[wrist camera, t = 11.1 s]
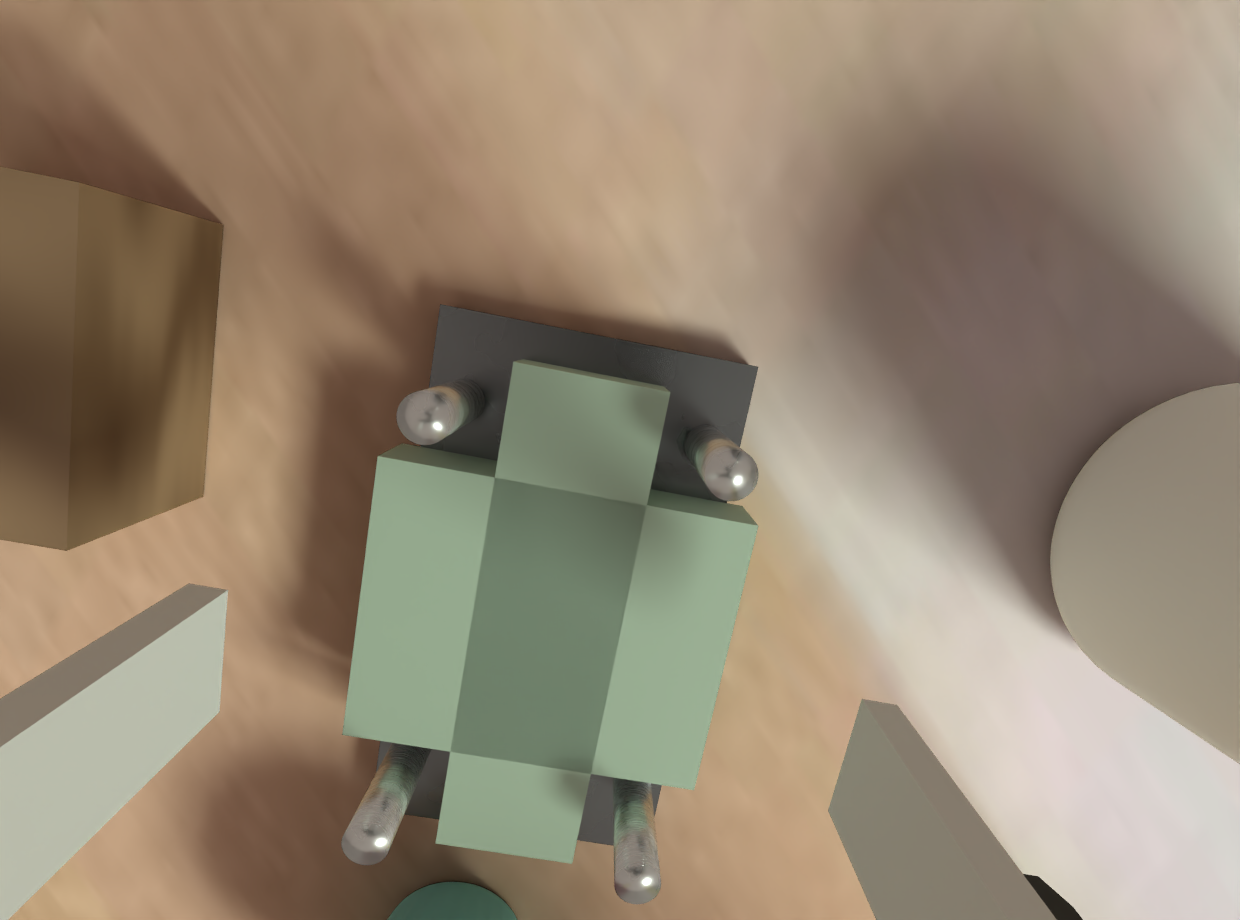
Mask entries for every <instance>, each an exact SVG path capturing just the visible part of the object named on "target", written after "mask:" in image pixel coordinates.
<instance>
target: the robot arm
mask: <svg viewBox="0 0 1240 920" xmlns="http://www.w3.org/2000/svg"><path fill="white" fill-rule="evenodd" d="M227 597H228V590H225V589H219V588H213V587H207V586H201V585H195V584H190V583H189V584H187V585H186V586H184V587H182V588H181V589H179V590H177V591H176V592H174V593H172V594H171V595H169V596H168V597H166V598H164V599H163V600H161V601H159V602H158V603H156V604H154V605H153V606H151V607H150V608H148V609H146V610H145V611H143V612H141V613H140V614H138V615H136V616H135V617H133V618H131V619H130V620H128V621H127V622H125V623H123V624H122V625H120V626H118V627H117V628H115V629H113V630H112V631H110V632H109V633H107V634H105V635H104V636H102V637H100V638H99V639H97V640H95V641H94V642H92V643H91V644H89V645H87V646H86V647H84V648H82V649H81V650H79V651H77V652H76V653H74V654H73V655H71V656H69V657H68V658H66V659H64V660H63V661H61V662H59V663H58V664H56V665H55V666H53V667H51V668H50V669H48V670H46V671H45V672H43V673H41V674H40V675H38V676H37V677H35V678H33V679H32V680H30V681H28V682H27V683H25V684H23V685H22V686H20V687H19V688H17V689H15V690H14V691H12V692H10V693H9V694H7V695H5V696H4V697H2V698H1V699H0V920H8V919H9V918H10V917H11V916H12V915H13V914H14V913H15V912H16V911H17V910H18V909H19V908H20V907H21V906H22V905H23V904H24V903H25V902H27V901H28V900H29V899H30V898H31V897H32V896H33V895H34V894H35V893H36V892H37V891H38V890H39V889H40V888H41V887H42V886H43V885H44V884H45V883H46V882H47V881H48V880H49V879H50V878H51V877H52V876H53V875H54V874H55V873H56V872H57V871H58V870H59V869H60V868H61V867H62V866H63V865H64V864H65V863H66V862H67V861H68V860H69V859H70V858H71V857H72V856H73V855H74V854H75V853H76V852H77V851H78V850H79V849H80V848H81V847H82V846H83V845H84V844H85V843H86V842H88V841H89V840H90V839H91V838H92V837H93V836H94V835H95V834H96V833H97V832H98V831H99V830H100V829H101V828H102V827H103V826H104V825H105V824H106V823H107V822H108V821H109V820H110V819H111V818H112V817H113V816H114V815H115V814H116V813H117V812H118V811H119V810H120V809H121V808H122V807H123V806H124V805H125V804H126V803H127V802H128V801H129V800H130V799H131V798H132V797H133V796H134V795H135V794H136V793H137V792H138V791H139V790H140V789H141V788H142V787H143V786H144V785H145V784H146V783H147V782H149V781H150V780H151V779H152V778H153V777H154V776H155V775H156V774H157V773H158V772H159V771H160V770H161V769H162V768H163V767H164V766H165V765H166V764H167V763H168V762H169V761H170V760H171V759H172V758H173V757H174V756H175V755H176V754H177V753H178V752H179V751H180V750H181V749H182V748H183V747H184V746H185V745H186V744H187V743H188V742H189V741H190V740H191V739H192V738H193V737H194V736H195V735H196V734H197V733H198V732H199V731H200V730H201V729H202V728H203V727H204V726H205V725H206V724H207V723H208V722H210V721H211V720H212V719H213V718H214V717H215V716H216V715H217V714H218V713H219V709H220V695H221V681H222V667H223V653H224V639H225V625H226V611H227ZM828 811H829V814H830V816H831V818H832V820H833V823H834V825H835V827H836V829H837V832H838V834H839V836H840V839H841V841H842V843H843V845H844V848H845V850H846V852H847V854H848V857H849V859H850V861H851V863H852V866H853V868H854V870H855V873H856V875H857V877H858V879H859V882H860V884H861V886H862V888H863V891H864V893H865V895H866V898H867V900H868V902H869V904H870V907H871V909H872V911H873V913H874V916H875V918H876V920H1083V919H1082V918H1081V917H1080V915H1079V914H1078V913H1077V912H1076V910H1075V909H1074V908H1073V907H1072V906H1071V905H1070V904H1069V903H1068V902H1067V901H1066V900H1064V899H1063V898H1062V897H1061V896H1060V895H1059V894H1058V893H1056V892H1055V891H1054V890H1053V889H1052V888H1051V887H1050V886H1048V885H1047V884H1046V883H1045V882H1044V881H1043V880H1042V879H1041V878H1039V877H1038V876H1032V875H1026V874H1022V872H1021V871H1020V870H1019V868H1018V867H1017V866H1016V864H1015V863H1014V861H1013V860H1012V859H1011V857H1010V856H1009V855H1008V853H1007V852H1006V851H1005V849H1004V848H1003V847H1002V845H1001V844H1000V843H999V841H998V840H997V839H996V837H995V836H994V835H993V833H992V832H991V831H990V829H989V828H988V827H987V825H986V824H985V823H984V821H983V820H982V818H981V817H980V816H979V814H978V813H977V812H976V810H975V809H974V808H973V806H972V805H971V804H970V802H969V801H968V800H967V798H966V797H965V796H964V794H963V793H962V792H961V790H960V789H959V788H958V786H957V785H956V784H955V782H954V781H953V780H952V778H951V777H950V775H949V774H948V773H947V771H946V770H945V769H944V767H943V766H942V765H941V763H940V762H939V761H938V759H937V758H936V757H935V755H934V754H933V753H932V751H931V750H930V749H929V747H928V746H927V745H926V743H925V742H924V741H923V739H922V738H921V737H920V735H919V734H918V732H917V731H916V730H915V728H914V727H913V726H912V724H911V723H910V722H909V720H908V719H907V718H906V716H905V715H904V714H903V712H902V711H901V710H900V708H899V707H898V706H897V705H894V704H888V703H882V702H877V701H871V700H865V699H862V701H861V704H860V707H859V710H858V714H857V717H856V720H855V724H854V727H853V730H852V734H851V737H850V740H849V744H848V747H847V750H846V753H845V757H844V760H843V763H842V767H841V770H840V773H839V777H838V780H837V783H836V787H835V790H834V793H833V797H832V800H831V803H830V806H829V810H828Z"/></svg>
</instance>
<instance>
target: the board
mask: <svg viewBox="0 0 1240 920" xmlns="http://www.w3.org/2000/svg"><path fill="white" fill-rule="evenodd" d="M670 393H671V392H670V391H668V390H667V389H666V388H665V387H664V386H659V385H654V384H649V383H644V382H639V381H633V380H628V379H623V378H618V377H613V376H608V375H603V374H598V373H592V372H587V371H582V370H577V369H572V368H567V367H562V366H556V365H551V364H546V363H541V362H536V361H531V360H526V359H522V360H518V361H515V362H513V368H512V374H511V380H510V387H509V393H508V399H507V405H506V411H505V417H504V424H503V430H502V436H501V442H500V448H499V454H498V461H495V460H490V459H485V458H479V457H474V456H468V455H463V454H457V453H452V452H447V451H441V450H436V449H430V448H425V447H420V446H414V445H409V444H403V443H402V444H400V445H398V446H396V447H394V448H392V449H390V450H388V451H387V452H385V453H383V454H381V455H379V456H378V458H377V466H376V474H375V481H374V489H373V497H372V505H371V513H370V521H369V529H368V537H367V545H366V553H365V560H364V568H363V576H362V584H361V592H360V600H359V608H358V616H357V624H356V631H355V639H354V647H353V655H352V663H351V671H350V679H349V687H348V695H347V703H346V710H345V718H344V726H343V734H342V735H347V736H353V737H359V738H366V739H372V740H378V741H385V742H391V743H398V744H404V745H410V746H417V747H423V748H429V749H436V750H442V751H448V752H450V757H449V763H448V769H447V775H446V781H445V787H444V794H443V800H442V806H441V812H440V818H439V824H438V831H437V837H436V844H442V845H449V846H456V847H462V848H469V849H476V850H483V851H489V852H496V853H503V854H510V855H516V856H523V857H530V858H536V859H543V860H550V861H557V862H563V863H570V864H572V862H573V857H574V852H575V847H576V843H577V838H578V833H579V828H580V823H581V819H582V814H583V809H584V804H585V800H586V795H587V790H588V785H589V780H590V776H591V774H595V775H601V776H607V777H614V778H620V779H627V780H633V781H639V782H646V783H652V784H658V785H665V786H671V787H677V788H684V789H690V790H694V788H695V784H696V780H697V775H698V771H699V767H700V763H701V759H702V755H703V751H704V747H705V743H706V738H707V734H708V730H709V726H710V722H711V718H712V714H713V710H714V706H715V702H716V697H717V693H718V689H719V685H720V681H721V677H722V673H723V669H724V665H725V661H726V656H727V652H728V648H729V644H730V640H731V636H732V632H733V628H734V624H735V619H736V615H737V611H738V607H739V603H740V599H741V595H742V591H743V587H744V583H745V578H746V574H747V570H748V566H749V562H750V558H751V554H752V550H753V546H754V541H755V537H756V533H757V529H758V525H757V524H756V522H755V521H754V520H753V519H752V517H751V516H750V515H749V514H748V513H747V511H746V510H745V509H744V508H743V506H739V505H733V504H728V503H723V502H717V501H712V500H706V499H701V498H696V497H690V496H685V495H679V494H674V493H668V492H663V491H658V490H652V489H650V488H651V484H652V479H653V474H654V469H655V464H656V460H657V455H658V450H659V445H660V441H661V436H662V431H663V426H664V421H665V417H666V412H667V407H668V402H669V397H670Z"/></svg>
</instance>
